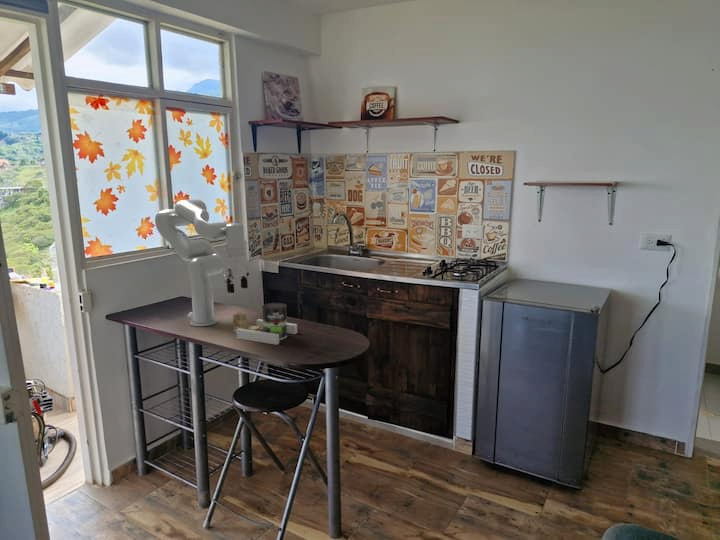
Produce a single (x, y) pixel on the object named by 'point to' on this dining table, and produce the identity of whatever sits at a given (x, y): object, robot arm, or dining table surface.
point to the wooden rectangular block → (242, 322)
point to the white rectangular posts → (263, 334)
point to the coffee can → (275, 319)
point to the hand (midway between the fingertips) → (237, 290)
